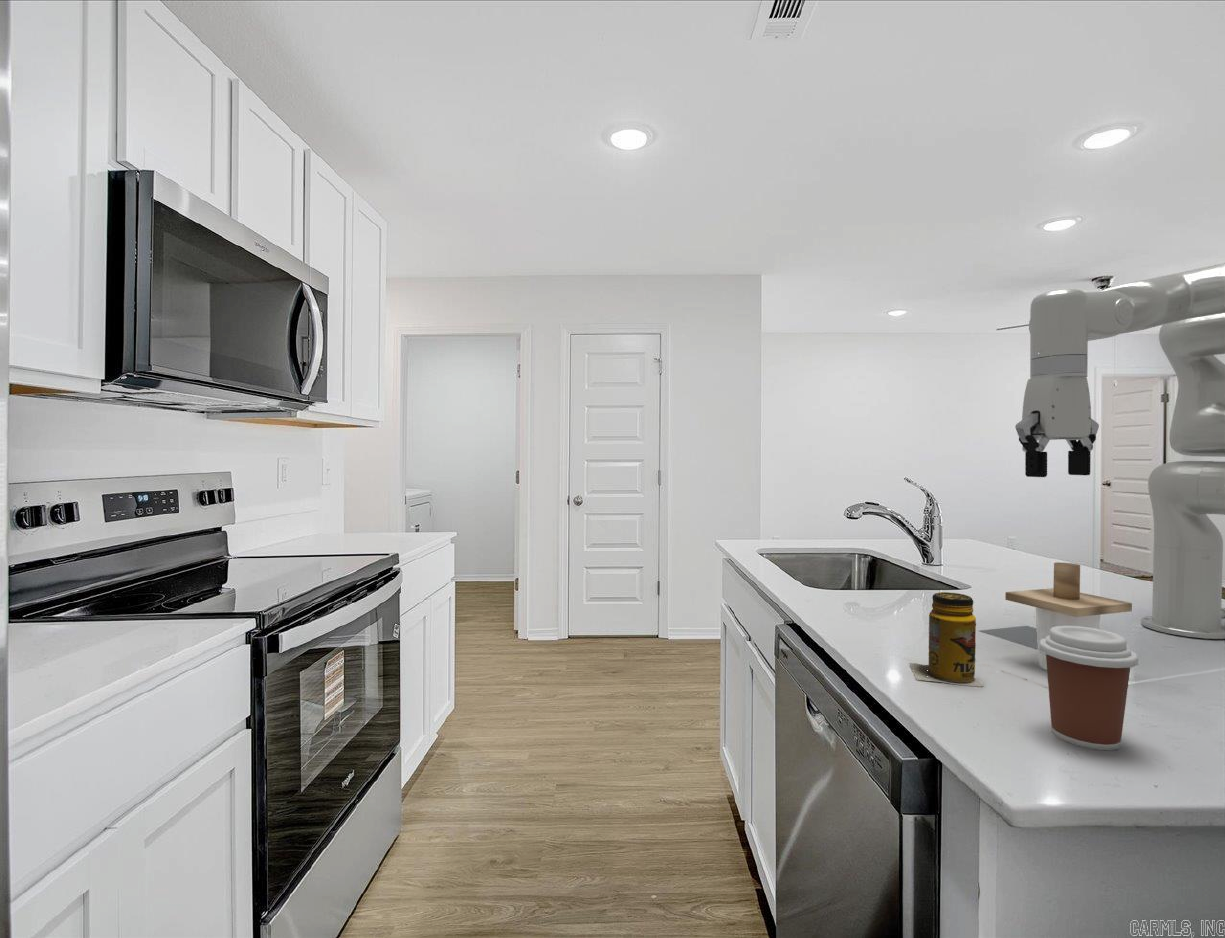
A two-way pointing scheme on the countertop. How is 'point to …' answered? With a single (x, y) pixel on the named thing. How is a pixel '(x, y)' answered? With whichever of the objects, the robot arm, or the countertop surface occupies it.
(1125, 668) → the coffee cup
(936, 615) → the condiment
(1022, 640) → the mat
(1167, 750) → the countertop surface
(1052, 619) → the white cup
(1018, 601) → the lid
